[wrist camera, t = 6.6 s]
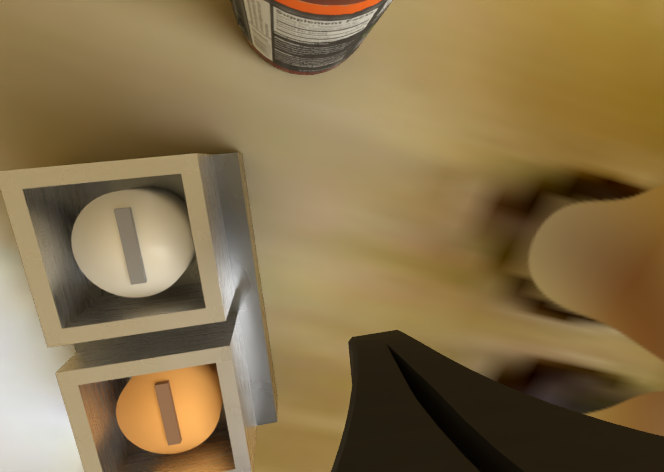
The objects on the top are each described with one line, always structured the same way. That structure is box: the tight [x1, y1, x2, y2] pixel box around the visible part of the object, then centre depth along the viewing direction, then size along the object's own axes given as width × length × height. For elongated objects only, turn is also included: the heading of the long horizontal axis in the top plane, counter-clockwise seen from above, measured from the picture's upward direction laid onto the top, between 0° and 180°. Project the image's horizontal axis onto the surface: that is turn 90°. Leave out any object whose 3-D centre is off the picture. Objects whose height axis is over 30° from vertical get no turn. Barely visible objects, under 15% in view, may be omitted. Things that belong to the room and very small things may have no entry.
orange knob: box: [116, 363, 223, 454], centre depth 15 cm, size 4×4×2 cm
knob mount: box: [0, 152, 277, 472], centre depth 15 cm, size 13×8×5 cm, turn 4°
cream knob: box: [71, 187, 196, 298], centre depth 14 cm, size 4×4×2 cm
